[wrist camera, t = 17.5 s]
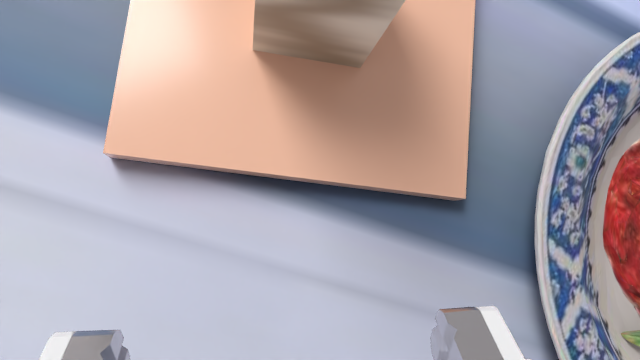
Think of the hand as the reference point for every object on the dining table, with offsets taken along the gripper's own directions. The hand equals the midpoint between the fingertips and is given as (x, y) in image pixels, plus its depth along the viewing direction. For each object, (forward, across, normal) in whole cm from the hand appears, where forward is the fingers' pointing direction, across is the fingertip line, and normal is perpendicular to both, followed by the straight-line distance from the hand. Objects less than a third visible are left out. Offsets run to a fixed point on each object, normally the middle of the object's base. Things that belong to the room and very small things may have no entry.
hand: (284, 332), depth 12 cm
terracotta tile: (+15, -2, -4) cm, 16 cm away
